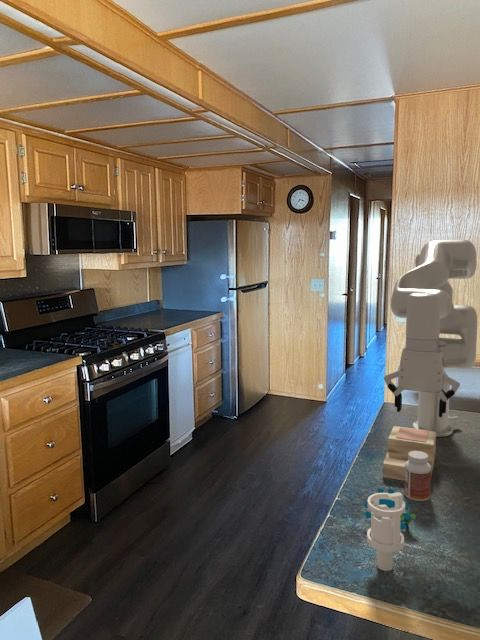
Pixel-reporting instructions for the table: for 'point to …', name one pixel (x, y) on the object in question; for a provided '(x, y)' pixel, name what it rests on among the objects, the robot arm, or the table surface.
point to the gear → (390, 504)
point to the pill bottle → (417, 476)
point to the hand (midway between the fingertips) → (419, 412)
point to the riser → (407, 449)
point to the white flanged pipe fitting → (385, 528)
